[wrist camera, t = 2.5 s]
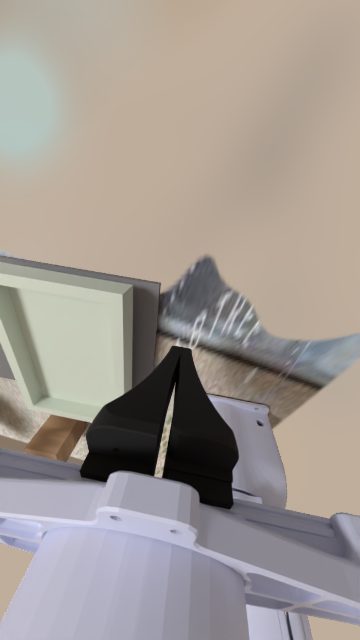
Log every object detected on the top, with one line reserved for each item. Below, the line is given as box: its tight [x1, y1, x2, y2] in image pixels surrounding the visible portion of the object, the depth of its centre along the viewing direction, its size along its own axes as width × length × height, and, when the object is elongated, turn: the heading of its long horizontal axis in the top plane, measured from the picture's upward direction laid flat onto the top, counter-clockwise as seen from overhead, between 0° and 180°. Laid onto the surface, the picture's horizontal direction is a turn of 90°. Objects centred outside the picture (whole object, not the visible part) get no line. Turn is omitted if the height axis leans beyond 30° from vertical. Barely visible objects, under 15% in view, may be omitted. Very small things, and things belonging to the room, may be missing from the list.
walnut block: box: [25, 414, 86, 462], centre depth 27 cm, size 4×4×6 cm
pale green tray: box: [0, 262, 133, 423], centre depth 20 cm, size 12×17×4 cm
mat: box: [0, 256, 161, 388], centre depth 22 cm, size 22×17×1 cm
